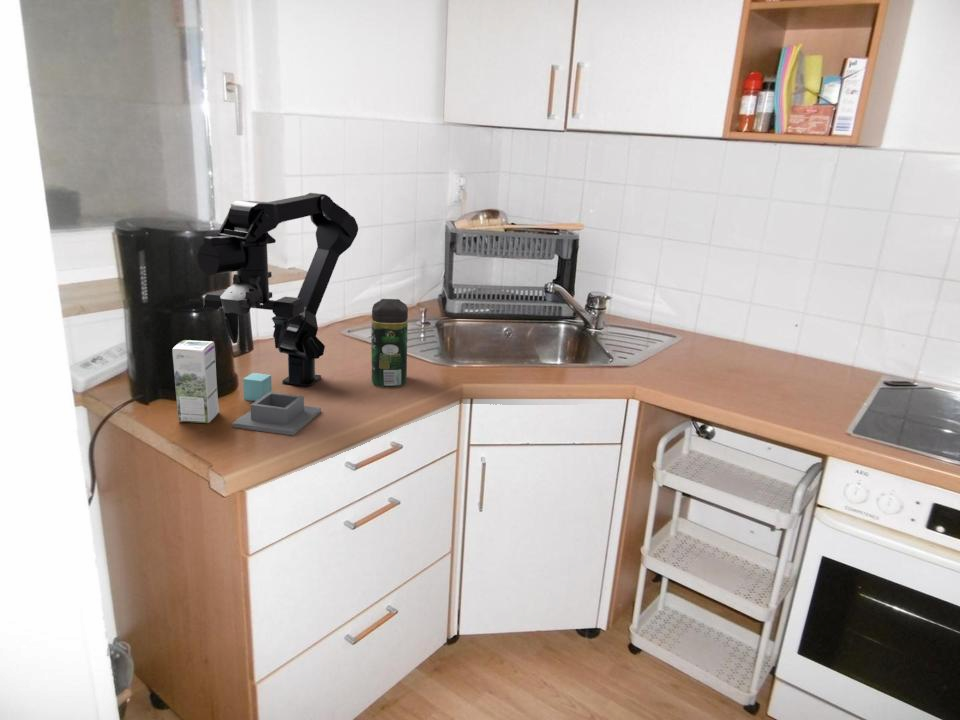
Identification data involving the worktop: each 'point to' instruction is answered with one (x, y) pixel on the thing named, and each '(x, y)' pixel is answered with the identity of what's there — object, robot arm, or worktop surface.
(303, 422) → the socket
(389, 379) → the coffee jar
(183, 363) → the syrup box
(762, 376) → the worktop surface
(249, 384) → the peg
